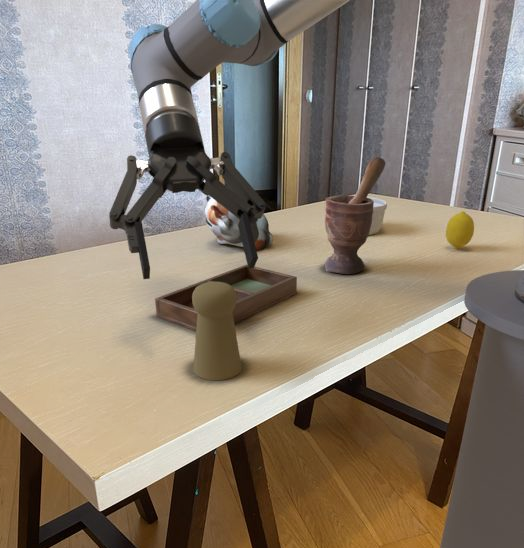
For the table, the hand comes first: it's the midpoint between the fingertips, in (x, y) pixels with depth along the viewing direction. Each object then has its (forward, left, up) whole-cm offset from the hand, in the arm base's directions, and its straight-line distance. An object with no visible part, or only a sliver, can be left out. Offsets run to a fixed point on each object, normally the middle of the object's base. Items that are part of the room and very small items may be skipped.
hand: (201, 268), depth 66 cm
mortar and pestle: (+3, -43, -11) cm, 44 cm away
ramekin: (+16, -69, -11) cm, 71 cm away
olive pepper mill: (-5, +3, -11) cm, 13 cm away
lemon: (-9, -68, -11) cm, 69 cm away
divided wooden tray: (+8, -14, -11) cm, 19 cm away
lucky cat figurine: (+30, -42, -11) cm, 53 cm away
